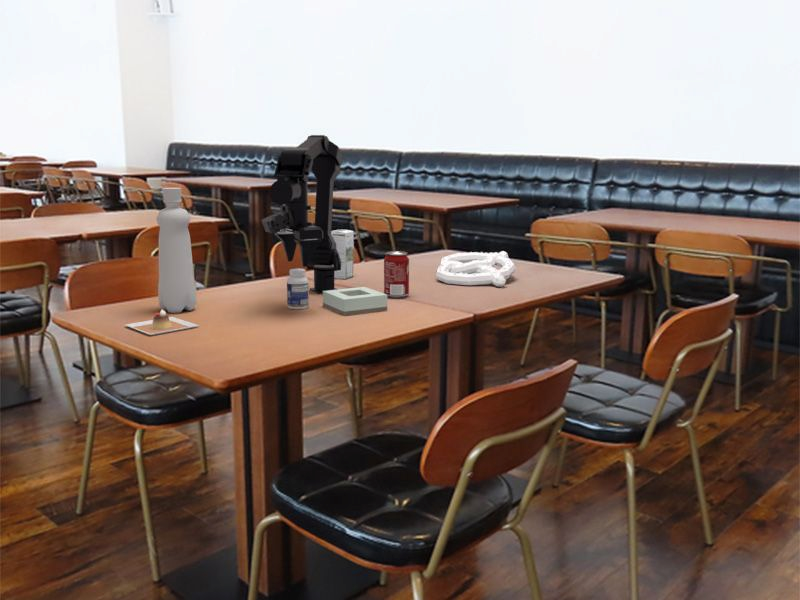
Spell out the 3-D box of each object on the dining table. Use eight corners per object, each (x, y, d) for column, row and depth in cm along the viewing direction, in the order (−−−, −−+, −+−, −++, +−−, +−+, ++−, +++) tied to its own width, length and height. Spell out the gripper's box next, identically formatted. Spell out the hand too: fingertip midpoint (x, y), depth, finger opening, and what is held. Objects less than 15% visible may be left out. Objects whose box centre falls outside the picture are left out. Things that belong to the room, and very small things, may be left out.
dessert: (124, 329, 175) (122, 308, 174) (172, 321, 183) (171, 301, 182) (149, 339, 166) (148, 317, 165) (199, 330, 175) (198, 309, 174)
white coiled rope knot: (514, 293, 223) (514, 272, 221) (433, 293, 227) (432, 272, 225) (516, 265, 249) (516, 246, 247) (443, 265, 253) (443, 246, 251)
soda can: (406, 299, 206) (406, 254, 204) (381, 298, 208) (381, 254, 205) (410, 294, 213) (411, 251, 210) (386, 293, 214) (387, 250, 212)
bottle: (184, 304, 198) (178, 186, 192) (204, 309, 192) (198, 188, 186) (152, 309, 192) (144, 188, 186) (171, 315, 186) (164, 190, 180)
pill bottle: (288, 305, 198) (287, 267, 196) (309, 305, 199) (308, 267, 197) (286, 310, 193) (285, 271, 191) (308, 309, 193) (307, 271, 191)
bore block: (323, 306, 197) (322, 291, 196) (364, 301, 203) (364, 286, 202) (344, 315, 187) (344, 299, 186) (387, 310, 193) (387, 294, 192)
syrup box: (337, 275, 242) (336, 229, 239) (354, 276, 240) (353, 230, 237) (328, 278, 236) (328, 231, 233) (346, 279, 234) (345, 232, 231)
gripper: (251, 199, 194) (253, 261, 197) (280, 205, 178) (281, 272, 182) (292, 198, 200) (293, 257, 203) (323, 203, 184) (324, 268, 187)
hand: (297, 263), depth 193 cm, fingers open, 9 cm apart
